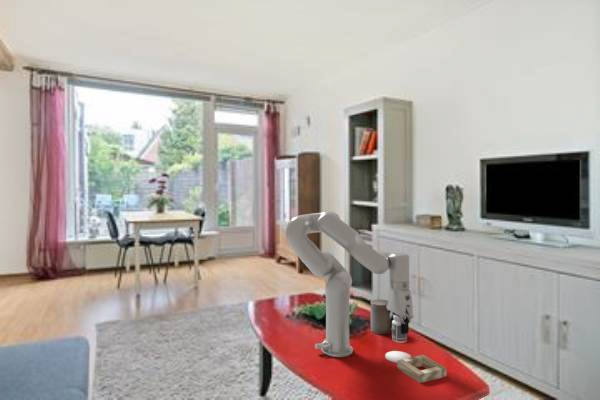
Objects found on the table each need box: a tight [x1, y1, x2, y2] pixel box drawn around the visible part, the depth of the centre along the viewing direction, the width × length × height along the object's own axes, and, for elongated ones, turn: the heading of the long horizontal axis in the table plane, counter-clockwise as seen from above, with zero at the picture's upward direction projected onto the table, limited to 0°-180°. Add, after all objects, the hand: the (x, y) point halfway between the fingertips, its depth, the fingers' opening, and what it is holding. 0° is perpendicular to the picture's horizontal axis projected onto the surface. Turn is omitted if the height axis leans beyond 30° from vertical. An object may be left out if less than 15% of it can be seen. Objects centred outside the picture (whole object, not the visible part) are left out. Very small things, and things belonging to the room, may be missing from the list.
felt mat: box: [384, 350, 412, 364], centre depth 150 cm, size 10×10×1 cm
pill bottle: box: [391, 314, 408, 344], centre depth 150 cm, size 6×6×10 cm
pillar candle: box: [370, 298, 392, 335], centre depth 179 cm, size 10×10×15 cm
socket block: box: [396, 354, 447, 384], centre depth 138 cm, size 12×12×3 cm
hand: (399, 330), depth 150 cm, fingers closed on pill bottle, 5 cm apart
